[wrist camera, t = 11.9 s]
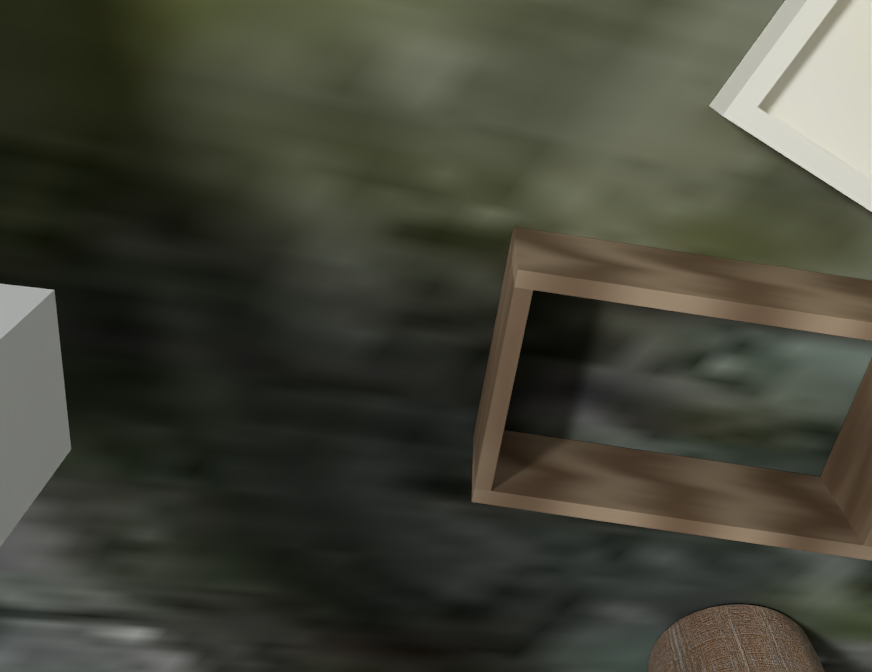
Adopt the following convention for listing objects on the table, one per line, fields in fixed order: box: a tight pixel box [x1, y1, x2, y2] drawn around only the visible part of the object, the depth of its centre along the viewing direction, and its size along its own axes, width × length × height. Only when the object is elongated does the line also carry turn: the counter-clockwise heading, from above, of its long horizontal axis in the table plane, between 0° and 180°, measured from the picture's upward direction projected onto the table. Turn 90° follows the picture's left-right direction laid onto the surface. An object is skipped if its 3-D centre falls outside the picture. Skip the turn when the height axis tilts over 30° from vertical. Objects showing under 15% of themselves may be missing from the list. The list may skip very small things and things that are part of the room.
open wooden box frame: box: [472, 227, 872, 560], centre depth 39 cm, size 20×12×6 cm, turn 82°
